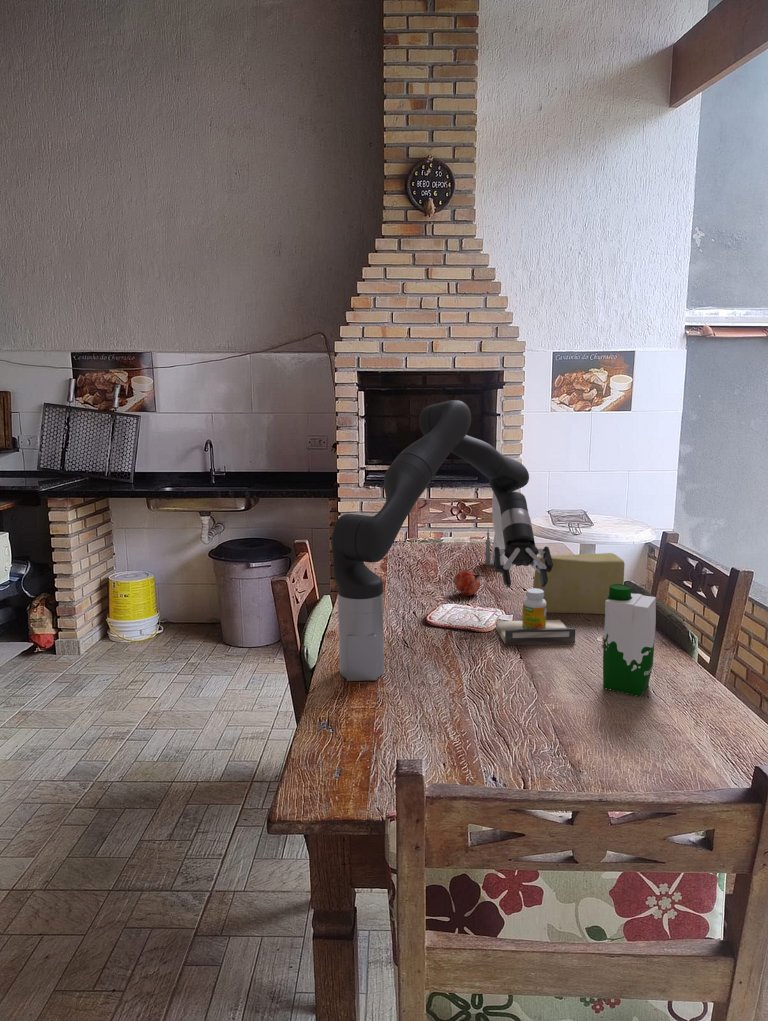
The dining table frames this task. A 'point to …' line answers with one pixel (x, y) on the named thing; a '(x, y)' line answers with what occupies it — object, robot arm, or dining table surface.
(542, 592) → the supplement bottle
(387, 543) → the robot arm
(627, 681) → the milk carton
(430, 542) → the dining table surface
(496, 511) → the skyscraper
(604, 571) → the cheese
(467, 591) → the pomegranate
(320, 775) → the dining table surface
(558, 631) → the shelf board
